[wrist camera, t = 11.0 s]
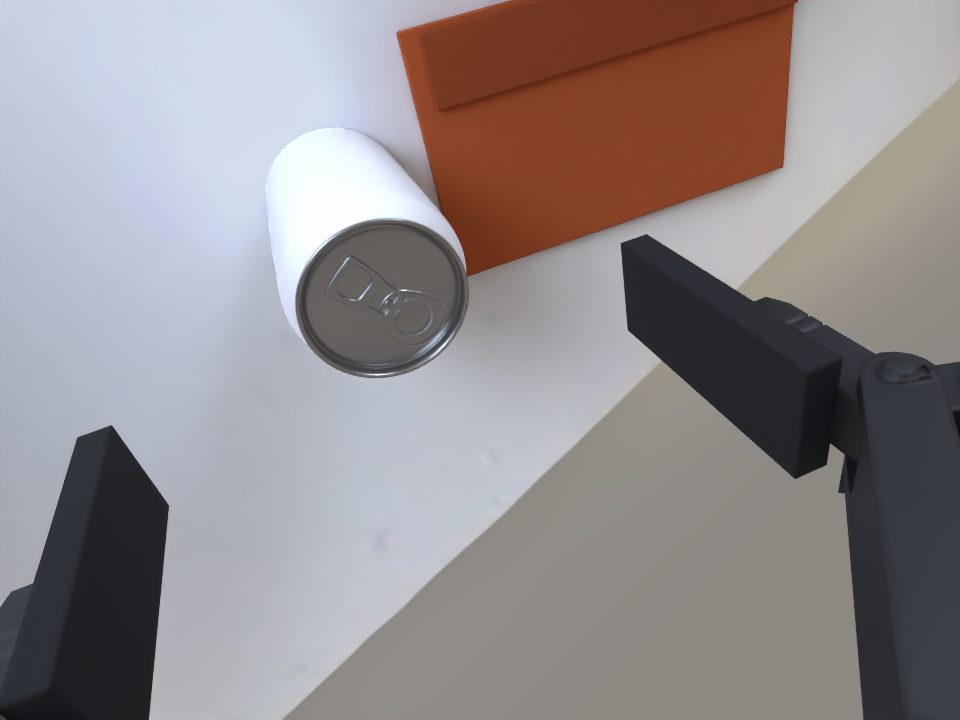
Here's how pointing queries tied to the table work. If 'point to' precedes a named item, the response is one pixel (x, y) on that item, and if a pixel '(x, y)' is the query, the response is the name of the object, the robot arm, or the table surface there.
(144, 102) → the table surface
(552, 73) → the orange envelope wallet
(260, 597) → the table surface
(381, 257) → the can
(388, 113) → the table surface
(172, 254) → the table surface
